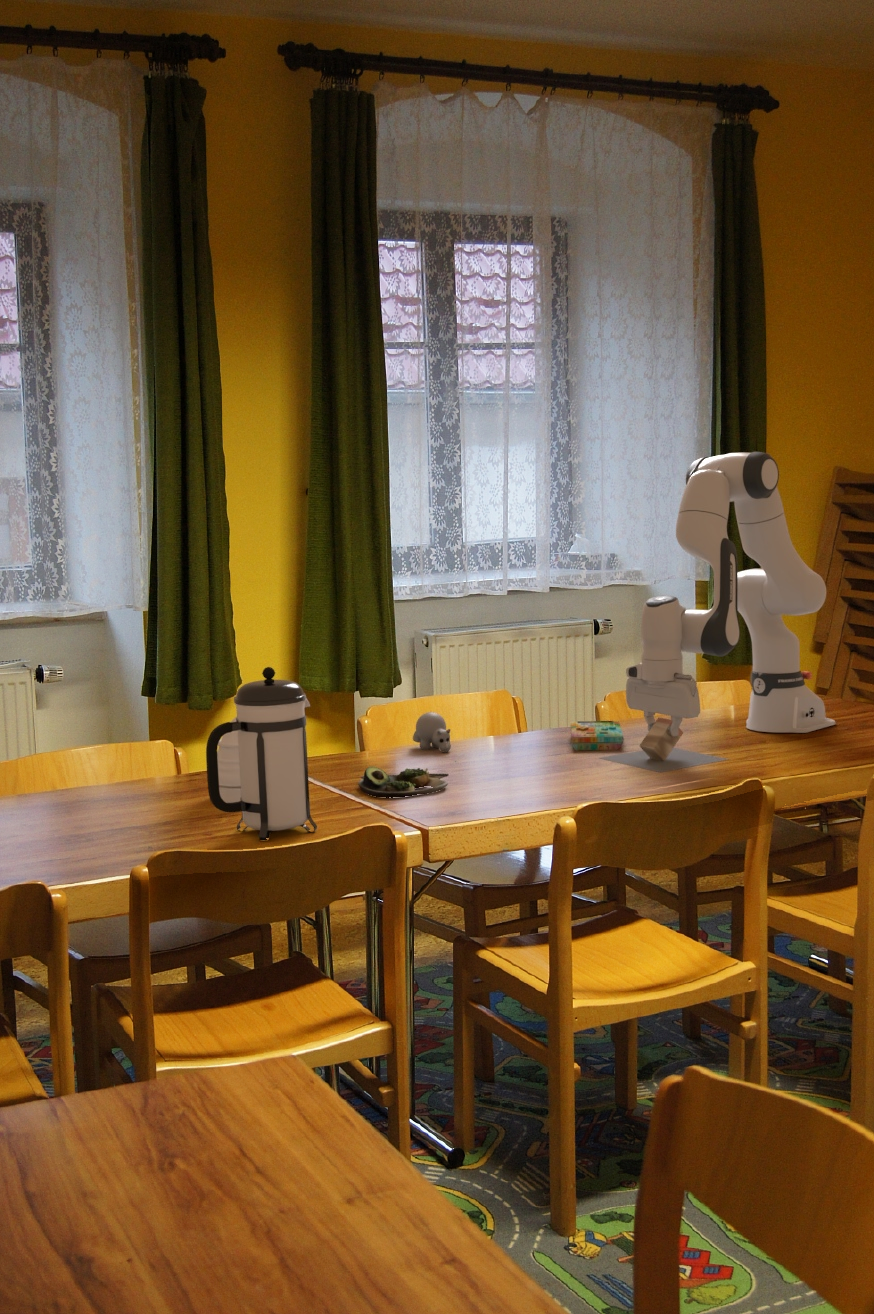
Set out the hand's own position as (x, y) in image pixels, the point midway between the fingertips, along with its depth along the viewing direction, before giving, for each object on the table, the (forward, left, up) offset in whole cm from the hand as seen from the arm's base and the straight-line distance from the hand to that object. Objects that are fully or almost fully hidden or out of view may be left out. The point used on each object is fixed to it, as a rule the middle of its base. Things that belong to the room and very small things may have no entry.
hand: (663, 733), depth 283 cm
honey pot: (+87, -29, -6) cm, 92 cm away
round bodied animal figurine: (+31, -45, -6) cm, 55 cm away
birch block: (+3, 0, -4) cm, 5 cm away
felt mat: (0, 0, -6) cm, 6 cm away
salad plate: (+59, -15, -6) cm, 61 cm away
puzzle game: (-1, -25, -6) cm, 26 cm away
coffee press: (+95, +1, -6) cm, 95 cm away
